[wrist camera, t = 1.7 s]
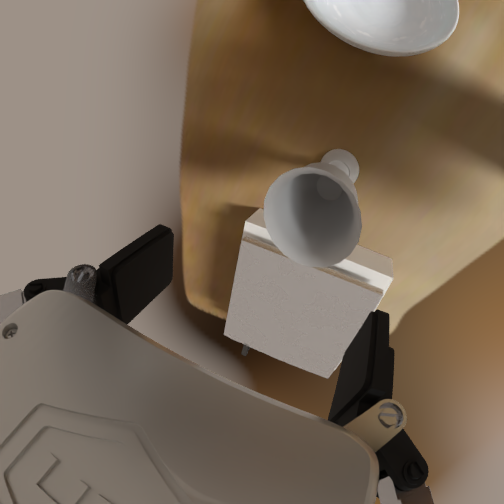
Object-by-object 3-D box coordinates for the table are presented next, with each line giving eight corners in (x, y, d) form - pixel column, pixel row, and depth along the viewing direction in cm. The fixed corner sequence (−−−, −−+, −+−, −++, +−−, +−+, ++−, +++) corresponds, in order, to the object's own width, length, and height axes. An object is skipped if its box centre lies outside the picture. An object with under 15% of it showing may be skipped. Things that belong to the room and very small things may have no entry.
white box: (383, 269, 35) (382, 295, 30) (328, 361, 46) (321, 387, 42) (259, 221, 39) (241, 240, 34) (236, 323, 50) (221, 345, 46)
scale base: (392, 258, 36) (393, 281, 31) (337, 352, 47) (331, 376, 43) (259, 208, 40) (243, 222, 36) (237, 311, 52) (223, 331, 47)
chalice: (372, 190, 33) (371, 260, 18) (322, 201, 36) (282, 273, 22) (356, 134, 30) (344, 155, 16) (305, 148, 34) (248, 182, 19)
